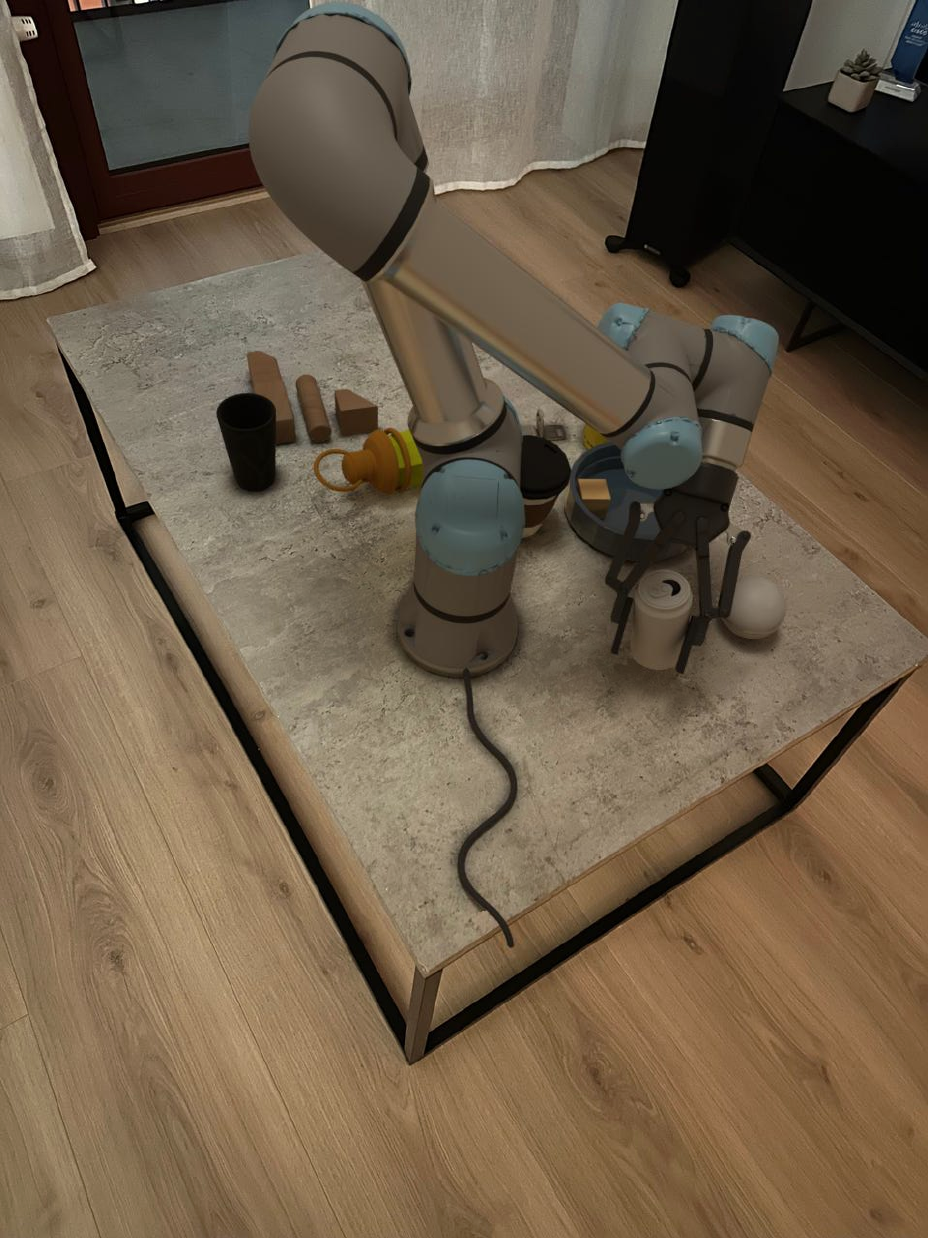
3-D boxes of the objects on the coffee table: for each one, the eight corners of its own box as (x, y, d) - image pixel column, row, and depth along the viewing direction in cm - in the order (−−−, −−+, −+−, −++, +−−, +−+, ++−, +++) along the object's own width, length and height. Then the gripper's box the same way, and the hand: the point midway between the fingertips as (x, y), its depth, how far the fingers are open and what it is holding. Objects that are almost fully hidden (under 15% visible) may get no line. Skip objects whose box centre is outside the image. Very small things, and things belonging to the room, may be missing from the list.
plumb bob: (454, 439, 136) (299, 468, 125) (472, 400, 129) (308, 427, 118) (479, 487, 133) (322, 521, 122) (499, 450, 126) (333, 482, 115)
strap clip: (512, 443, 136) (516, 421, 133) (508, 429, 138) (511, 407, 135) (566, 439, 138) (571, 418, 134) (561, 426, 139) (566, 404, 136)
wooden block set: (261, 421, 126) (243, 344, 137) (265, 451, 131) (248, 375, 141) (379, 406, 130) (353, 332, 140) (379, 436, 135) (354, 362, 145)
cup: (272, 502, 125) (264, 435, 115) (219, 491, 125) (207, 423, 116) (290, 465, 129) (283, 398, 120) (239, 455, 130) (228, 387, 120)
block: (604, 519, 127) (610, 499, 124) (577, 519, 127) (582, 498, 123) (600, 499, 129) (605, 478, 126) (572, 498, 129) (578, 478, 126)
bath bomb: (700, 616, 118) (718, 577, 112) (744, 594, 121) (764, 555, 115) (741, 660, 114) (762, 622, 108) (785, 636, 117) (809, 598, 111)
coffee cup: (515, 482, 131) (530, 420, 121) (570, 527, 127) (590, 466, 117) (462, 517, 126) (472, 455, 116) (517, 564, 122) (533, 504, 112)
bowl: (687, 580, 122) (698, 556, 118) (548, 540, 124) (554, 515, 120) (708, 486, 134) (718, 461, 130) (581, 452, 136) (587, 426, 132)
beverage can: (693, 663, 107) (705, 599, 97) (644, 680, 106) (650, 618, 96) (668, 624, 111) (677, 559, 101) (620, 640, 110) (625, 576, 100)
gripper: (789, 488, 101) (728, 681, 104) (618, 444, 104) (563, 634, 107) (803, 485, 94) (737, 692, 97) (619, 437, 96) (560, 641, 100)
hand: (646, 661), depth 102 cm, fingers closed on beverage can, 7 cm apart
